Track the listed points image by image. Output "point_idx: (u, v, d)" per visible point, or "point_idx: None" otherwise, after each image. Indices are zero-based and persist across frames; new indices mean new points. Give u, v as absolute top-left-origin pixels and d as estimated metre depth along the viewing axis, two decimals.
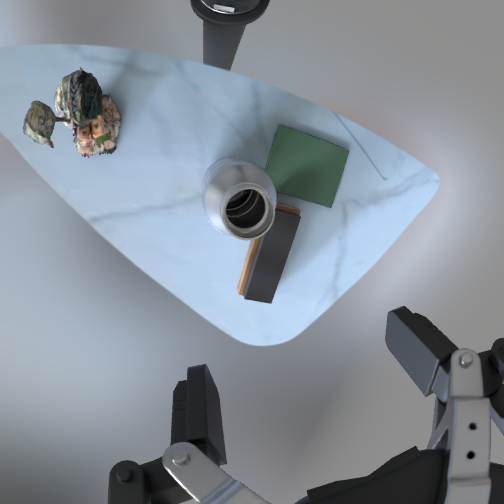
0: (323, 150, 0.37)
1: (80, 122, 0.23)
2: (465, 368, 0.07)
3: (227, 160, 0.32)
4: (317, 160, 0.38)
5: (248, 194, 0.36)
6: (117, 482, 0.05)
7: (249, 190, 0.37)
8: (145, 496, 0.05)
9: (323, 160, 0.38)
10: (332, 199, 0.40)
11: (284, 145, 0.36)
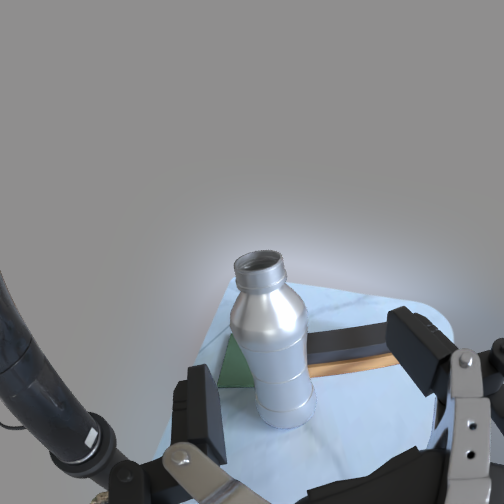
0: (234, 349, 0.41)
1: None
2: (465, 368, 0.07)
3: (256, 401, 0.27)
4: None
5: None
6: (117, 482, 0.05)
7: None
8: (145, 496, 0.05)
9: None
10: None
11: (236, 376, 0.36)
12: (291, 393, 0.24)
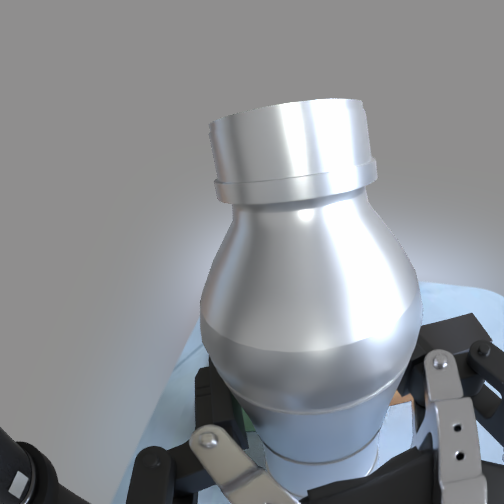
0: None
1: None
2: (438, 369, 0.07)
3: (268, 473, 0.12)
4: None
5: None
6: (142, 467, 0.06)
7: None
8: (168, 484, 0.06)
9: None
10: None
11: None
12: (347, 471, 0.09)
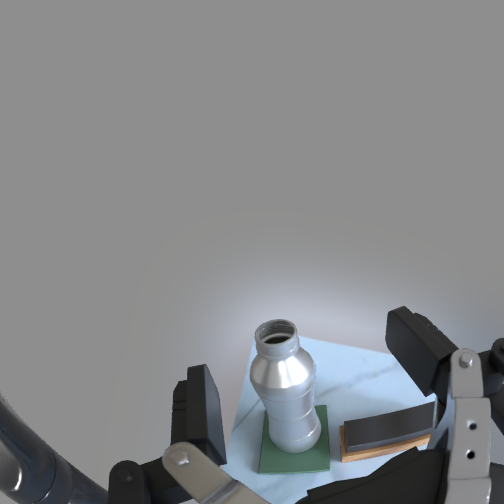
0: None
1: None
2: (465, 368, 0.07)
3: (269, 429, 0.30)
4: None
5: None
6: (117, 482, 0.05)
7: None
8: (145, 496, 0.05)
9: None
10: (317, 407, 0.36)
11: (278, 463, 0.29)
12: (297, 428, 0.27)
